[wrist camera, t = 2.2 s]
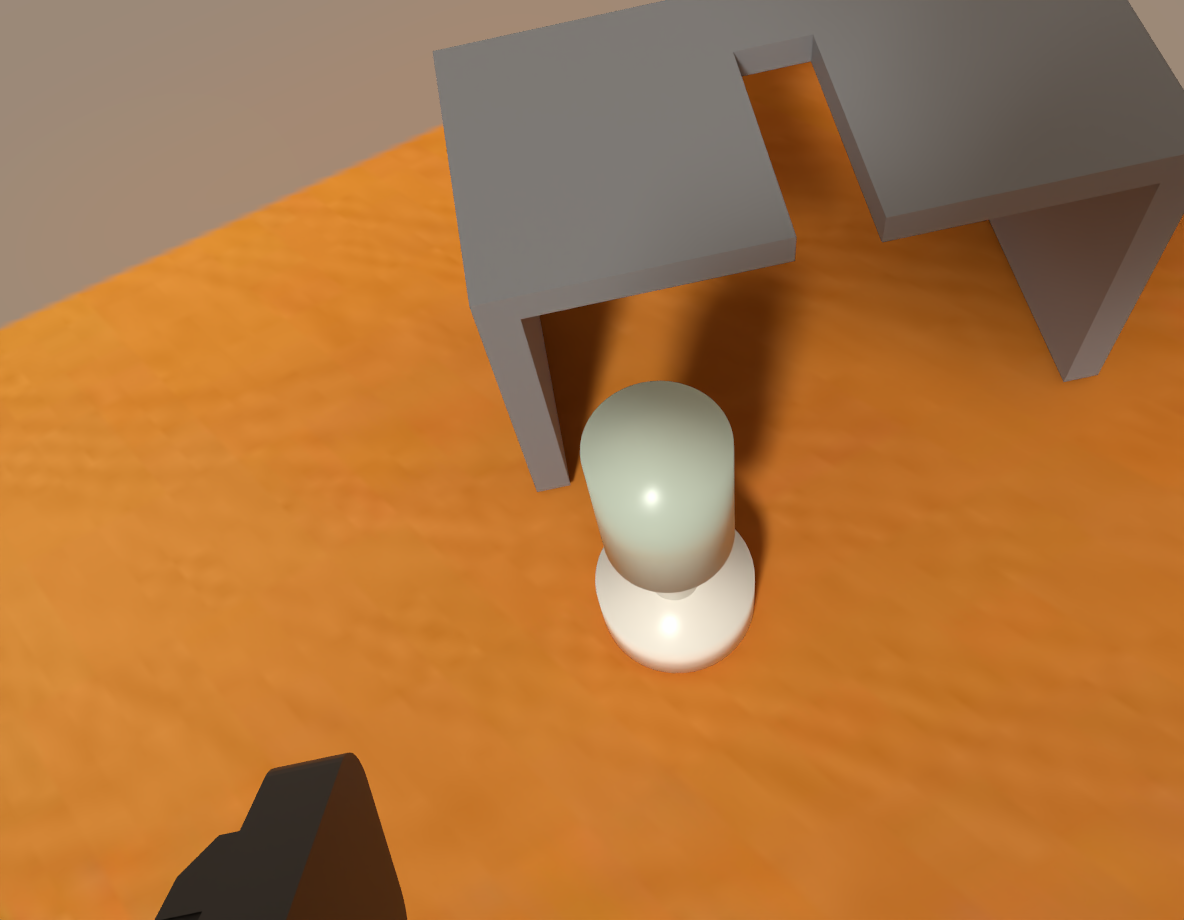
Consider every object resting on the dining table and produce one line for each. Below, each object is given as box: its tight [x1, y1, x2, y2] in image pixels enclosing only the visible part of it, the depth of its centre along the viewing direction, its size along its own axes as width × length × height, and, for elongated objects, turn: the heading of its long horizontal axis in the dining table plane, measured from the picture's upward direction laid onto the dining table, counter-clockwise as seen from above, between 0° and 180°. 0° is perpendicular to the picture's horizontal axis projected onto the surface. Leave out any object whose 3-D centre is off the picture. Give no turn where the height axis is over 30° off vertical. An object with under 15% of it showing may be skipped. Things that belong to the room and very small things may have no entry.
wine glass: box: [580, 381, 755, 673], centre depth 31 cm, size 5×5×10 cm
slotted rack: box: [433, 0, 1184, 492], centre depth 36 cm, size 20×10×11 cm, turn 100°
